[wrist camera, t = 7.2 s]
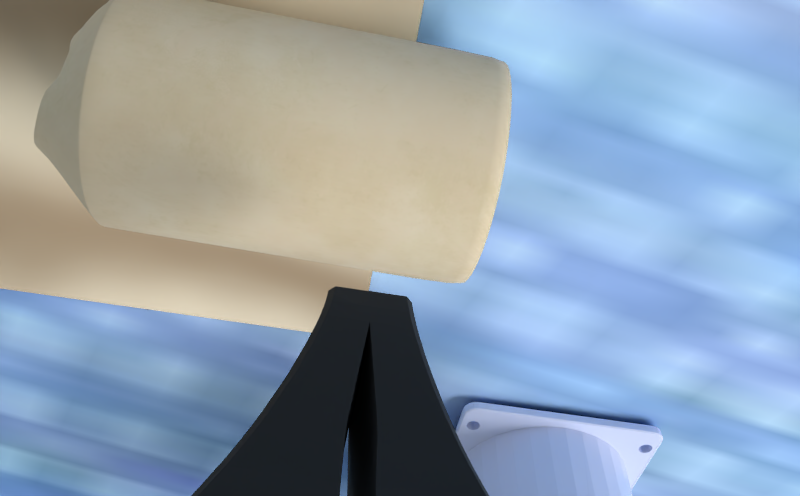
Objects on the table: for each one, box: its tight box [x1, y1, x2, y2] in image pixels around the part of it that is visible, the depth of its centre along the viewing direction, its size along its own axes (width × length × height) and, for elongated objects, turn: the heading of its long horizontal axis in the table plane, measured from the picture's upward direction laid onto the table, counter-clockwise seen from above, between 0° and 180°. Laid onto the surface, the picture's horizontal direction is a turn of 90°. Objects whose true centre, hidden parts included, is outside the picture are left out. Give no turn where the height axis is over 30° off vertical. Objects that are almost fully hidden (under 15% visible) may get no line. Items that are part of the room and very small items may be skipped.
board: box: [0, 0, 424, 333], centre depth 19 cm, size 18×14×1 cm
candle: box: [34, 0, 512, 283], centre depth 17 cm, size 6×6×10 cm
